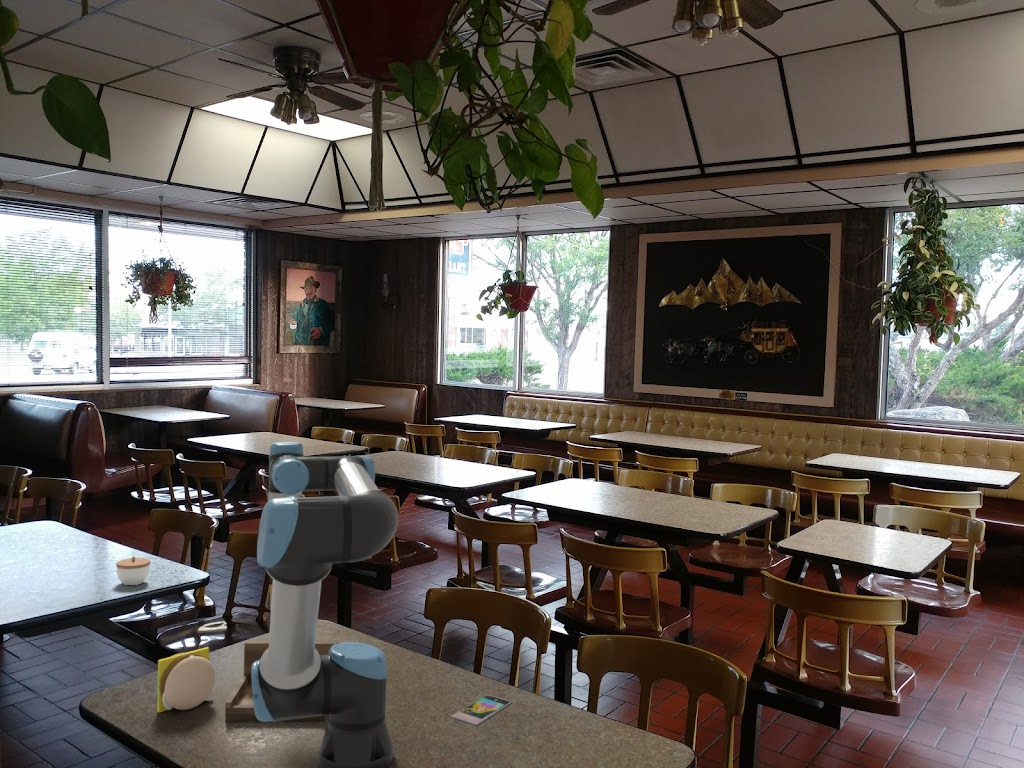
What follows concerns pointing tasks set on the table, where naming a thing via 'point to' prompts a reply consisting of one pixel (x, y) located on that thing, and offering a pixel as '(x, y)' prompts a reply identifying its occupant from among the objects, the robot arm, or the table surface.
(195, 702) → the hamburger
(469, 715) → the smartphone
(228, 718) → the drawer
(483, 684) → the table surface
